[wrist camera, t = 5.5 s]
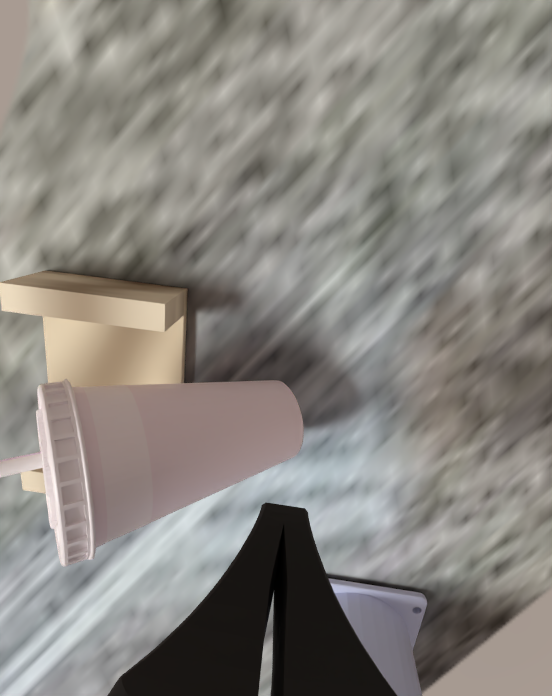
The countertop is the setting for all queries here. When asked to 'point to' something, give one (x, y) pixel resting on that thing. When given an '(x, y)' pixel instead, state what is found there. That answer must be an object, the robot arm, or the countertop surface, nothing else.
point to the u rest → (102, 332)
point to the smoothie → (150, 451)
